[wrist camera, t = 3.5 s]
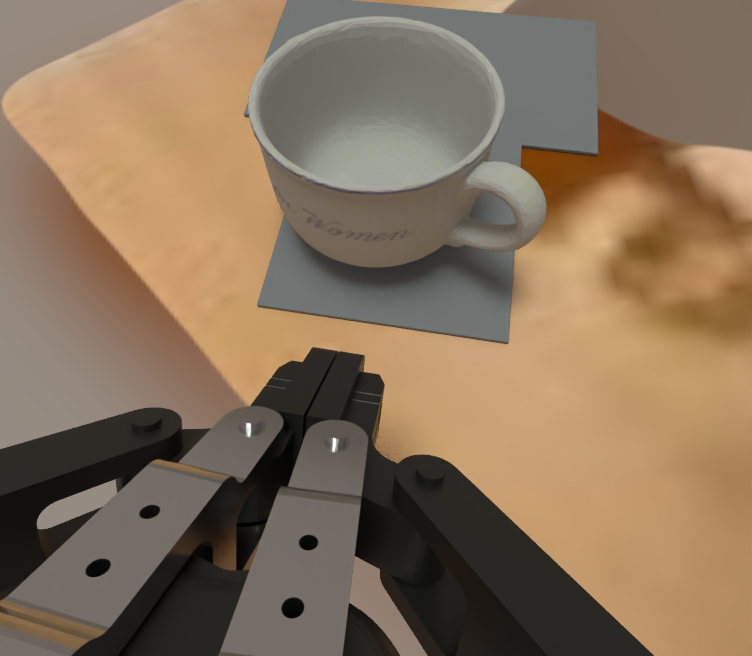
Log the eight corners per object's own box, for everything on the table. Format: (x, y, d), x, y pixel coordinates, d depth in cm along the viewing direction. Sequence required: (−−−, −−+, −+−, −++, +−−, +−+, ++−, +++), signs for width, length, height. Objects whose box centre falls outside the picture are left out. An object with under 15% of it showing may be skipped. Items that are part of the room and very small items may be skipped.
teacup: (249, 199, 27) (197, 76, 20) (393, 110, 30) (395, -28, 22) (403, 377, 23) (411, 305, 15) (557, 255, 25) (628, 143, 18)
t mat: (594, 24, 33) (595, 21, 33) (599, 357, 23) (601, 356, 23) (289, -3, 35) (289, -5, 34) (177, 294, 25) (175, 292, 25)
